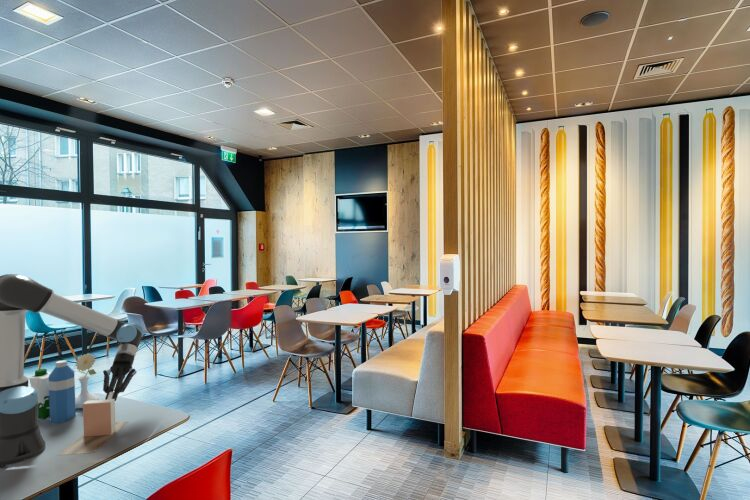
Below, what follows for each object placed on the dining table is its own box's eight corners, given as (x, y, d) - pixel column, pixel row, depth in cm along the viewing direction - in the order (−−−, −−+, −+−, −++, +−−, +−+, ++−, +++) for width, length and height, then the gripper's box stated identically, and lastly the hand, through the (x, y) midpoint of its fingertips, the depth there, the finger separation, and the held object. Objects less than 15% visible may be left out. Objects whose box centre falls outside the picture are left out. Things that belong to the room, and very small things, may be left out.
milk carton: (47, 410, 184) (46, 366, 183) (64, 411, 182) (62, 367, 181) (27, 418, 175) (26, 373, 174) (44, 420, 173) (43, 374, 173)
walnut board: (58, 457, 143) (58, 455, 143) (98, 425, 168) (98, 423, 168) (94, 454, 144) (94, 452, 144) (128, 423, 169) (128, 421, 169)
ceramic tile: (88, 433, 159) (87, 400, 159) (115, 431, 161) (114, 398, 160) (83, 437, 156) (82, 404, 156) (111, 434, 157) (110, 402, 157)
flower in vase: (63, 409, 184) (61, 355, 184) (87, 399, 195) (86, 348, 194) (83, 412, 180) (82, 357, 180) (107, 403, 191) (106, 350, 190)
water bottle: (80, 416, 176) (78, 360, 175) (54, 425, 168) (52, 366, 167) (71, 412, 181) (69, 357, 180) (45, 420, 173) (43, 362, 172)
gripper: (143, 359, 183) (127, 411, 167) (112, 361, 181) (93, 413, 165) (138, 351, 178) (121, 403, 162) (106, 352, 176) (86, 406, 160)
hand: (107, 408), depth 163 cm, fingers closed
